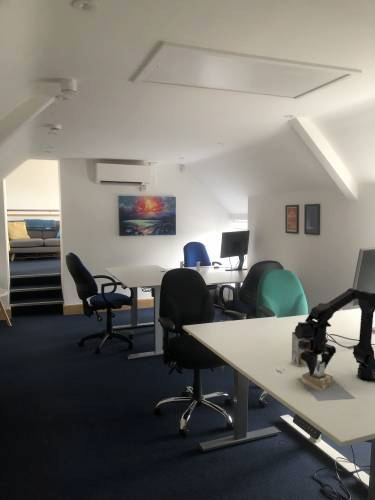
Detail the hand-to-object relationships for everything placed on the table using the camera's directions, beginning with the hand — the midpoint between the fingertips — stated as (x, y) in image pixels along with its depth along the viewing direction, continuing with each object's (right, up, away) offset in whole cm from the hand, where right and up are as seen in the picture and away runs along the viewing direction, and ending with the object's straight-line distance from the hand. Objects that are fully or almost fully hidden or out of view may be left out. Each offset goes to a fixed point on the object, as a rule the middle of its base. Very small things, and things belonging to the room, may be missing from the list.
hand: (317, 371), depth 173 cm
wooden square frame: (0, -6, +1) cm, 6 cm away
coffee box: (0, -4, +24) cm, 24 cm away
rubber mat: (+2, -6, -3) cm, 7 cm away
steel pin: (0, -6, +1) cm, 6 cm away
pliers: (-14, -5, +11) cm, 19 cm away
